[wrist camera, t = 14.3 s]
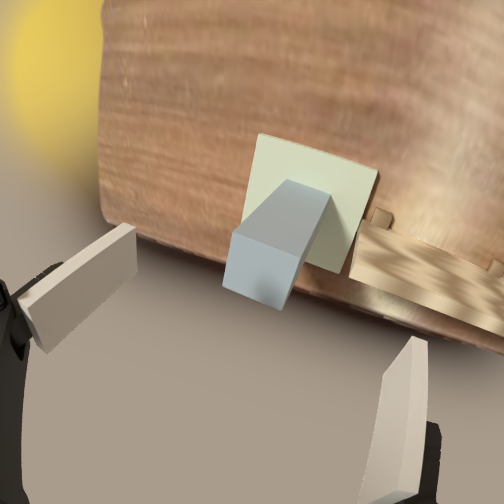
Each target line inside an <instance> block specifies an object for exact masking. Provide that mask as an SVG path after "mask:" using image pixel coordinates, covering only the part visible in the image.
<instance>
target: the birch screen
mask: <svg viewBox="0 0 504 504" xmlns="http://www.w3.org/2000/svg"><path fill="white" fill-rule="evenodd" d="M392 217H393V214H392V213H390V212H387V211H385V210H382V209H380V208H377V207H376V208H375V211H374V213H373V216H372V218H371V221H369V220H366V219H364V218H362V220H361V222H360V225H359V228H358V231H357V237H356V242H355V248H354V253H353V258H352V264H351V269H350V274H349V278H352V279H354V280H357V281H360V282H362V283H365V284H368V285H370V286H373V287H376V288H378V289H381V290H383V291H386V292H389V293H391V294H394V295H397V296H399V297H402V298H405V299H407V300H410V301H412V302H415V303H418V304H420V305H423V306H425V307H428V308H431V309H433V310H436V311H438V312H441V313H444V314H446V315H449V316H451V317H454V318H457V319H459V320H462V321H464V322H467V323H470V324H472V325H475V326H477V327H480V328H482V329H485V330H488V331H490V332H493V333H495V334H498V335H500V336H503V337H504V278H502V275H503V273H504V263H503V262H501V261H499V260H497V259H495V258H493V260H492V262H491V264H490V265H489V267H488V269H487V270H485V269H483V268H481V267H479V266H477V265H475V264H472V263H470V262H468V261H466V260H464V259H461V258H459V257H457V256H454V255H452V254H450V253H448V252H445V251H443V250H441V249H438V248H436V247H434V246H431V245H429V244H427V243H424V242H422V241H419V240H417V239H415V238H412V237H410V236H407V235H405V234H402V233H400V232H397V231H395V230H392V229H390V228H388V227H389V225H390V222H391V220H392Z"/></svg>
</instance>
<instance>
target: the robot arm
mask: <svg viewBox="0 0 504 504" xmlns="http://www.w3.org/2000/svg"><path fill="white" fill-rule="evenodd" d="M135 274H137V253H136V227H133V226H131V225H129V224H126V223H122V224H121V225H119V226H118V227H116V228H115V229H113V230H112V231H110V232H108V233H107V234H105V235H104V236H102V237H101V238H99V239H98V240H97V241H95V242H94V243H92V244H91V245H89V246H88V247H86V248H85V249H83V250H82V251H80V252H79V253H78V254H76V255H75V256H74V257H72V258H71V259H69V260H68V261H66V262H65V263H63V262H59V263H57V264H54V265H51V266H50V267H48V268H47V269H46V270H44V271H43V273H40V274H39V275H38V276H36V278H33V279H32V280H31V281H29V282H28V283H27V284H26V285H24V286H23V287H22V288H20V289H19V290H18V291H16V292H15V293H14V294H13V295H11V296H10V295H9V292H8V289H7V287H6V284H5V282H4V281H2V280H1V279H0V504H29V500H28V497H27V495H26V493H25V491H24V489H23V486H22V469H21V431H22V412H23V398H24V388H25V379H26V371H27V363H28V356H29V349H30V341H29V339H30V338H31V337H33V338H34V340H35V342H36V344H37V346H38V347H40V348H41V349H42V350H43V351H44V352H45V353H47V354H48V353H49V352H50V351H51V350H52V349H53V348H55V347H56V346H57V345H58V344H59V343H60V342H61V341H62V340H63V339H64V338H65V337H66V336H67V335H68V334H69V333H70V332H72V331H73V330H74V328H76V327H77V326H78V325H79V324H80V323H81V322H82V321H83V320H84V319H86V318H87V317H88V316H89V315H90V314H91V313H92V312H93V311H94V310H95V309H97V308H98V307H99V306H100V305H101V304H102V303H103V302H104V301H106V299H108V298H109V297H110V296H111V295H112V294H113V293H115V292H116V291H117V290H118V289H119V288H120V287H121V286H123V285H124V284H125V283H126V282H127V281H128V280H130V279H131V278H132V277H133V276H134V275H135ZM427 393H428V350H427V341H424V340H422V339H419V338H416V337H413V336H412V337H411V338H410V340H409V341H408V342H407V344H406V346H405V347H404V348H403V349H402V351H401V352H400V353H399V355H398V356H397V358H396V359H395V360H394V362H393V363H392V364H391V365H390V367H389V368H388V369H387V370H386V372H385V373H384V374H383V379H382V386H381V393H380V400H379V406H378V411H377V417H376V422H375V428H374V433H373V438H372V443H371V447H370V452H369V456H368V461H367V465H366V469H365V473H364V477H363V481H362V485H361V489H360V492H359V496H358V500H357V503H356V504H437V503H436V491H437V484H438V475H439V466H440V461H439V460H440V455H441V452H440V449H441V440H442V436H441V433H440V429H439V426H438V424H436V423H432V422H428V421H426V418H427V396H428V394H427Z"/></svg>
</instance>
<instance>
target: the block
mask: <svg viewBox="0 0 504 504" xmlns="http://www.w3.org/2000/svg"><path fill="white" fill-rule="evenodd" d="M330 195H331V194H328V193H326V192H323V191H320V190H317V189H315V188H312V187H309V186H306V185H303V184H301V183H298V182H295V181H292V180H289V179H286V180H285V181H284V182H283V183H282V184H281V185H280V186H279V187H278V188H277V189H276V190H274V191H273V192H272V193H271V194H270V195H269V196H268V197H267V198H266V199H265V200H264V201H263V202H262V203H261V204H260V205H259V206H258V207H257V208H256V209H255V210H254V211H253V212H252V213H251V214H250V215H249V216H248V217H247V218H246V219H245V220H244V221H243V222H242V223H241V224H240V225H239V226H238V227H237V228H236V229H235V230H234V231H233V234H232V239H231V244H230V249H229V254H228V259H227V264H226V269H225V274H224V280H223V285H222V286H224V287H226V288H228V289H231V290H233V291H235V292H238V293H240V294H242V295H245V296H247V297H250V298H252V299H254V300H257V301H259V302H261V303H264V304H266V305H269V306H271V307H273V308H276V309H278V310H282V308H283V306H284V304H285V302H286V300H287V298H288V296H289V294H290V292H291V290H292V288H293V285H294V283H295V281H296V279H297V277H298V275H299V273H300V270H301V268H302V266H303V264H304V262H305V260H306V257H307V255H308V253H309V251H310V249H311V246H312V244H313V242H314V240H315V237H316V235H317V233H318V230H319V227H320V224H321V221H322V218H323V215H324V213H325V210H326V207H327V204H328V201H329V198H330Z"/></svg>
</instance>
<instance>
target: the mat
mask: <svg viewBox="0 0 504 504" xmlns="http://www.w3.org/2000/svg"><path fill="white" fill-rule="evenodd" d="M377 172H378V170H376V169H373V168H371V167H368V166H365V165H363V164H360V163H357V162H354V161H351V160H348V159H345V158H342V157H340V156H337V155H334V154H330V153H327V152H324V151H321V150H318V149H315V148H312V147H308V146H305V145H302V144H298V143H295V142H292V141H288V140H285V139H281V138H278V137H274V136H270V135H267V134H263V133H260V134H258V139H257V144H256V149H255V154H254V159H253V164H252V169H251V174H250V179H249V184H248V189H247V195H246V200H245V205H244V210H243V215H242V220H241V223H242V222H243V221H244V220H245V219H246V218H247V217H248V216H249V215H250V214H251V213H252V212H253V211H254V210H255V209H256V208H257V207H258V206H259V205H260V204H261V203H262V202H263V201H264V200H265V199H266V198H267V197H268V196H269V195H270V194H271V193H272V192H273V191H274V190H276V189H277V188H278V187H279V186H280V185H281V184H282V183H283V182H284V181H285V180H286V179H289V180H292V181H295V182H298V183H301V184H303V185H306V186H309V187H312V188H315V189H317V190H320V191H323V192H326V193H328V194H331V195H330V198H329V201H328V204H327V207H326V210H325V213H324V215H323V218H322V221H321V224H320V227H319V230H318V233H317V235H316V237H315V240H314V242H313V244H312V246H311V249H310V251H309V253H308V255H307V257H306V260H305V262H308V263H310V264H313V265H316V266H318V267H321V268H324V269H326V270H329V271H332V272H334V273H337V274H339V273H340V271H341V269H342V266H343V264H344V261H345V259H346V256H347V254H348V251H349V249H350V246H351V244H352V241H353V239H354V236H355V233H356V231H357V228H358V226H359V223H360V220H361V218H362V215H363V212H364V209H365V207H366V204H367V201H368V198H369V196H370V193H371V190H372V187H373V184H374V181H375V178H376V175H377Z"/></svg>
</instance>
